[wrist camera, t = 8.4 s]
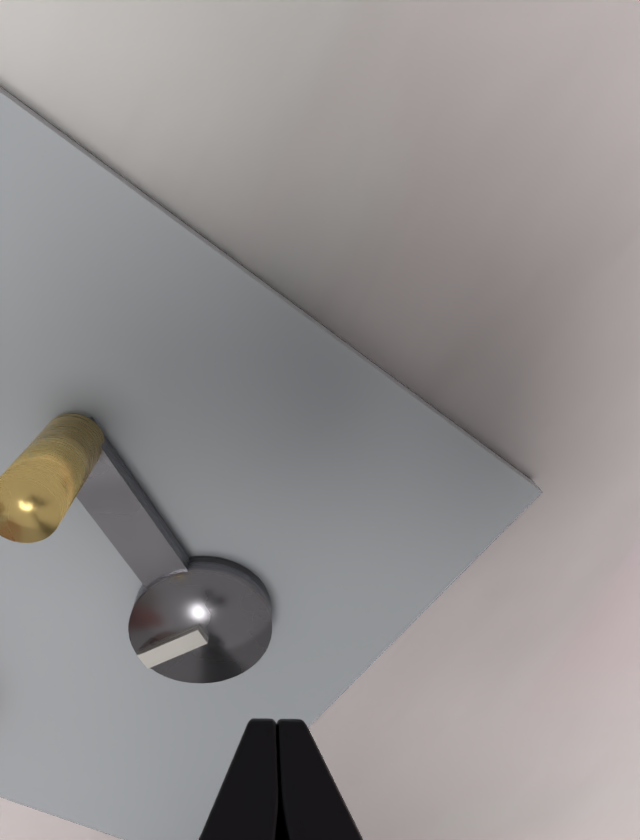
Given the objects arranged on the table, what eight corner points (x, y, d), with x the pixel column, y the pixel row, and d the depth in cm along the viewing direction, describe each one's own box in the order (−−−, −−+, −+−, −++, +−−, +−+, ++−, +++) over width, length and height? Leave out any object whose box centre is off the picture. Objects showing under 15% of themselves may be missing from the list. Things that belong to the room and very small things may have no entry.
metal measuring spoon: (132, 378, 17) (89, 439, 13) (294, 631, 21) (300, 735, 17) (-9, 445, 17) (-92, 525, 13) (179, 679, 22) (159, 792, 18)
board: (532, 480, 21) (542, 492, 20) (180, 840, 27) (178, 858, 26) (-236, -89, 13) (-267, -105, 12) (-478, 607, 19) (-508, 624, 18)
